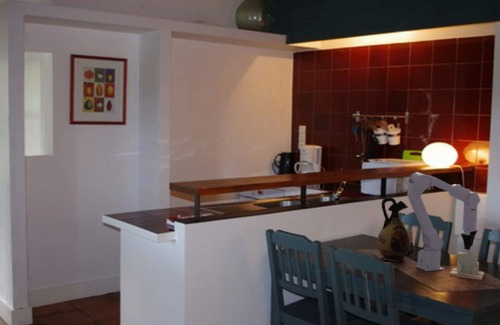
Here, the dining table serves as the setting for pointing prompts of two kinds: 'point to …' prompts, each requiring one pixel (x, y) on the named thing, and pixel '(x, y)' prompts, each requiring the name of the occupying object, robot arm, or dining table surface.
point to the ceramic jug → (393, 233)
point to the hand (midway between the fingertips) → (468, 247)
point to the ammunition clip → (411, 240)
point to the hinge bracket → (473, 275)
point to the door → (467, 261)
